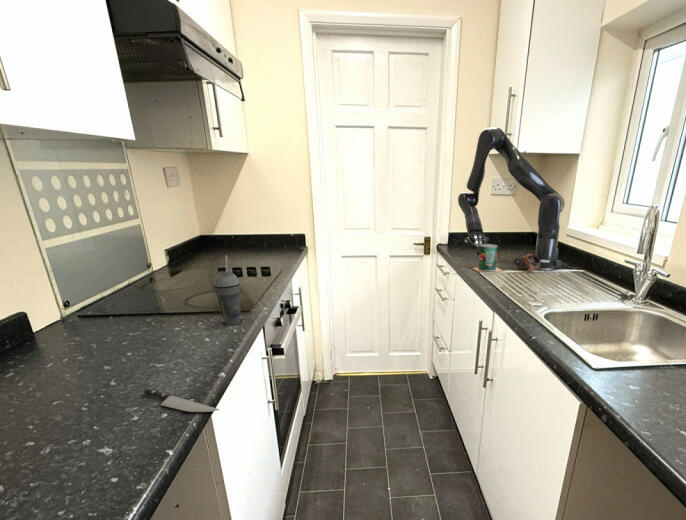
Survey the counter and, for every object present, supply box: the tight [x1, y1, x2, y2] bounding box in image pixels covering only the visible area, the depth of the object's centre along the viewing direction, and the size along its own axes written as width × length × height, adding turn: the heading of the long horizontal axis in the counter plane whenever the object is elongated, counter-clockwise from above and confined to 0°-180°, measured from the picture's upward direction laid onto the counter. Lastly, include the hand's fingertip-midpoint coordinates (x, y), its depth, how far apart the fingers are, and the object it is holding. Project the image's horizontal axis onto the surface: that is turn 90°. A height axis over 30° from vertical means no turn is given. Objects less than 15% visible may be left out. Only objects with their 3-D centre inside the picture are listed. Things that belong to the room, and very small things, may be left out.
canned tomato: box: [478, 243, 499, 272], centre depth 190 cm, size 8×8×11 cm
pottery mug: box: [513, 253, 541, 273], centre depth 189 cm, size 12×10×8 cm
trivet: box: [472, 266, 504, 273], centre depth 192 cm, size 12×9×1 cm
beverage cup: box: [212, 254, 242, 326], centre depth 120 cm, size 7×7×20 cm
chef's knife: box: [144, 388, 220, 413], centre depth 79 cm, size 19×1×3 cm
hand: (480, 254), depth 200 cm, fingers closed
